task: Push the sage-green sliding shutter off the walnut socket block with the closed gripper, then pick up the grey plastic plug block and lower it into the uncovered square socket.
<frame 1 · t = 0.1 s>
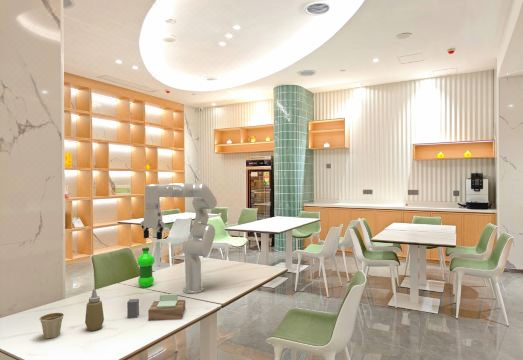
hand: (152, 238, 191), 37 cm above the table, tool pointing down, fingers open, 9 cm apart
plastic bottle: (146, 286, 230), on the table
plug: (133, 316, 178), on the table
shutter: (167, 300, 179), point 7 cm above the table, slide at 0.0 cm
squeeze bottle: (94, 328, 164), on the table
socket: (167, 314, 179), on the table
flower pot: (52, 336, 156), on the table
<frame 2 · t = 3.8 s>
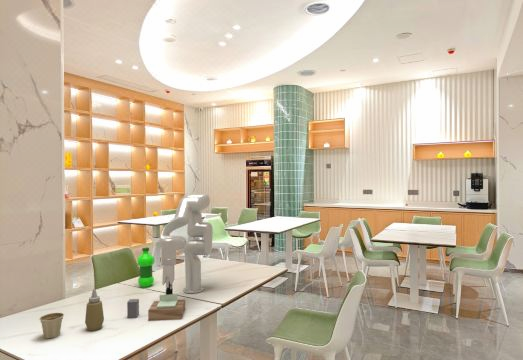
hand: (169, 296, 185), 7 cm above the table, tool pointing down, fingers closed
shutter: (167, 300, 179), point 7 cm above the table, slide at 0.1 cm, touching gripper
everything else where it was.
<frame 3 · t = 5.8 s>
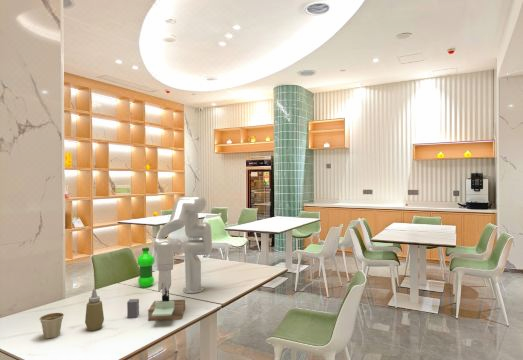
hand: (165, 303, 175), 7 cm above the table, tool pointing down, fingers closed
shutter: (163, 308, 169), point 7 cm above the table, slide at 10.9 cm, touching gripper
everything else where it was.
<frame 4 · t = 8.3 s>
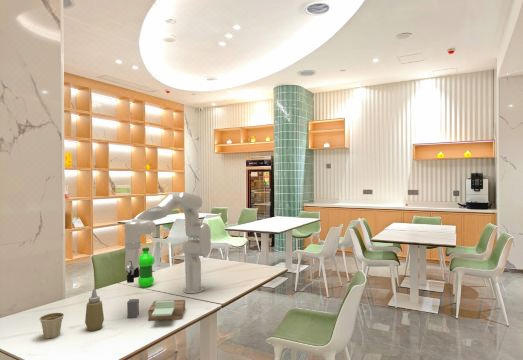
hand: (133, 279, 178), 18 cm above the table, tool pointing down, fingers open, 9 cm apart
shutter: (163, 308, 169), point 7 cm above the table, slide at 10.9 cm
everything else where it was.
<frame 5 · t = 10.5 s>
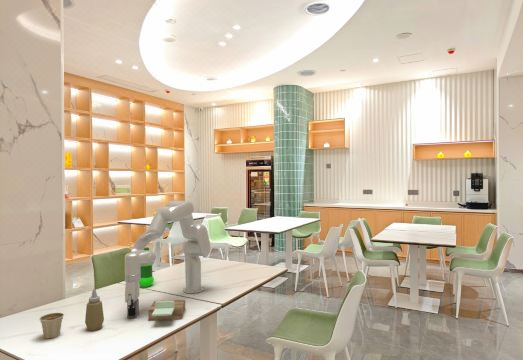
hand: (133, 313, 178), 1 cm above the table, tool pointing down, fingers closed on plug, 4 cm apart
plug: (133, 316, 178), on the table, touching gripper
everything else where it was.
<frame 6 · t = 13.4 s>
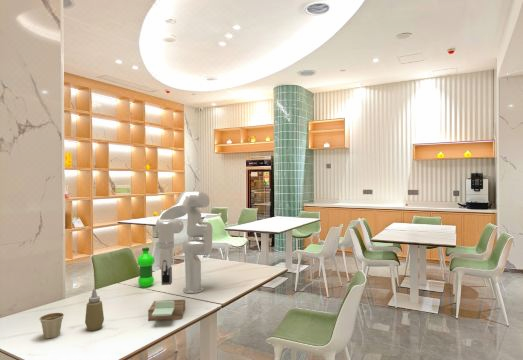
hand: (166, 280, 180), 17 cm above the table, tool pointing down, fingers closed on plug, 4 cm apart
plug: (166, 283, 180), point 16 cm above the table, touching gripper
everything else where it was.
when the fingers open (6 cm above the table, at t = 16.5 s): plug drops 4 cm, resting in socket.
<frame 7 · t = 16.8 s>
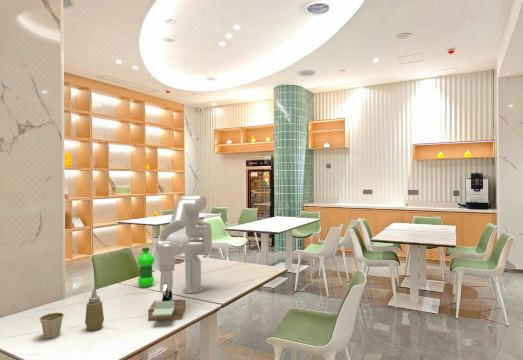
hand: (167, 301, 179), 6 cm above the table, tool pointing down, fingers open, 8 cm apart
plug: (167, 314, 179), resting in socket
everything else where it was.
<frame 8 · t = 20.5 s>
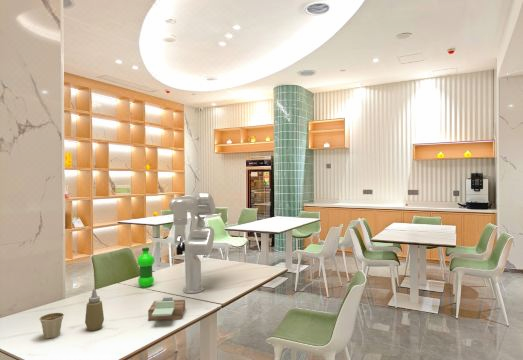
hand: (180, 252, 195), 28 cm above the table, tool pointing down, fingers open, 9 cm apart
nothing on the table moved.
at the end: shutter slide at 10.9 cm; plug 0.0 cm off-centre on the socket, point 0.0 cm above the socket's base; plug tilted 0° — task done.
